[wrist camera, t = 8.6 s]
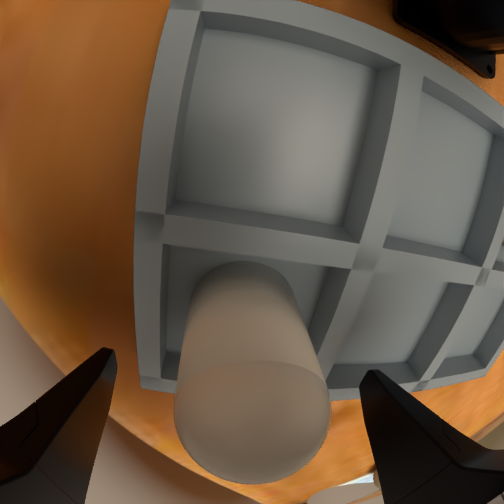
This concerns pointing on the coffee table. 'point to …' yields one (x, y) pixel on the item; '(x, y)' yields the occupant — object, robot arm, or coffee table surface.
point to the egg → (249, 378)
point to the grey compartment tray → (322, 191)
